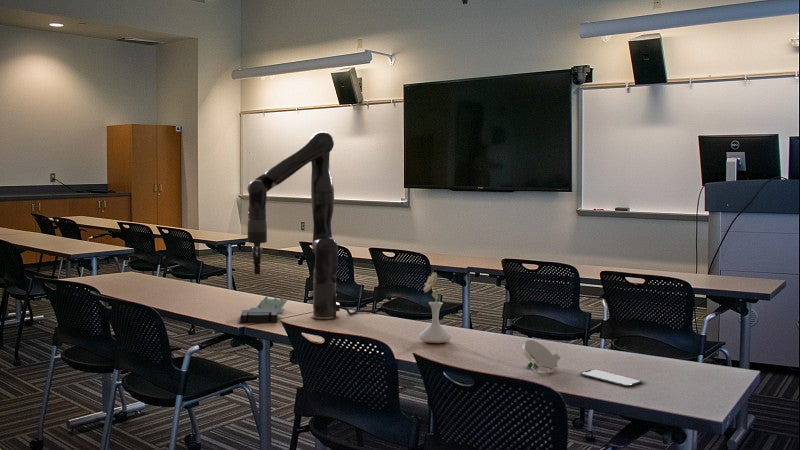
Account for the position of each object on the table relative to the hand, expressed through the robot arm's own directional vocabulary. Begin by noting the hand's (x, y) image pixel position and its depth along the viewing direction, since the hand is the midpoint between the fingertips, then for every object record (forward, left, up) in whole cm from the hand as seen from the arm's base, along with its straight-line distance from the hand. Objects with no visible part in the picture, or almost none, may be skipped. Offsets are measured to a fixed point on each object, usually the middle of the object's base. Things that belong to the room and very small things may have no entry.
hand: (257, 274), depth 283 cm
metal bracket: (-5, -22, -19) cm, 29 cm away
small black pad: (-1, +3, -19) cm, 19 cm away
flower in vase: (-63, +45, -19) cm, 80 cm away
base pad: (-1, -1, -19) cm, 19 cm away
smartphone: (-104, +96, -19) cm, 143 cm away
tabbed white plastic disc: (-87, +84, -19) cm, 123 cm away
